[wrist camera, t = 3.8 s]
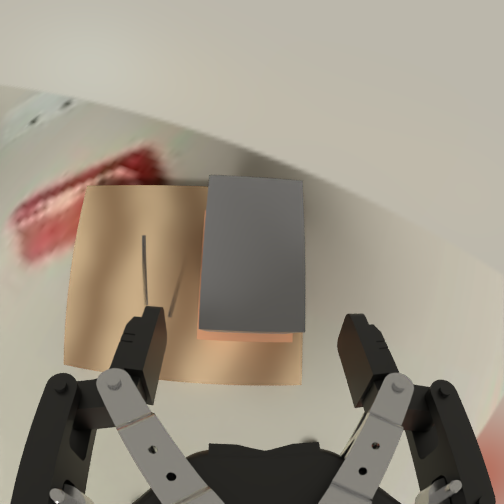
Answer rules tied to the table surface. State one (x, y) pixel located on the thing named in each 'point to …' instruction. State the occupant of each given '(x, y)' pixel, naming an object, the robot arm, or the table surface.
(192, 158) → the table surface
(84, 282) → the oak board
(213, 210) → the block
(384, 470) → the robot arm
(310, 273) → the table surface
